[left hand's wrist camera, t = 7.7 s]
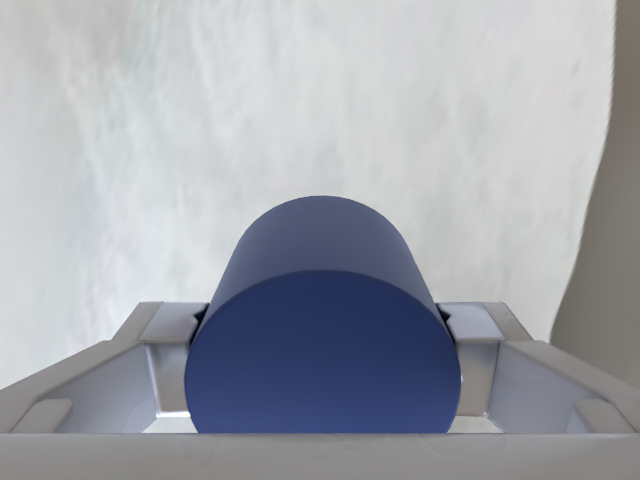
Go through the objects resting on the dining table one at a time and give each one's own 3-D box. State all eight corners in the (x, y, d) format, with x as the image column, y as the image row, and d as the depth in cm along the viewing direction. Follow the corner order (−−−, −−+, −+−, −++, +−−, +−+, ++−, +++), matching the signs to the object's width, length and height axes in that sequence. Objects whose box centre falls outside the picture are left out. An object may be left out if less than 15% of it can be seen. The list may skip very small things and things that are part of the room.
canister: (238, 180, 11) (190, 248, 7) (435, 211, 11) (498, 294, 7) (221, 349, 13) (176, 481, 9) (392, 372, 13) (424, 510, 9)
